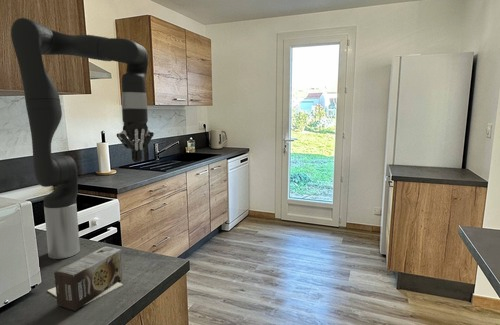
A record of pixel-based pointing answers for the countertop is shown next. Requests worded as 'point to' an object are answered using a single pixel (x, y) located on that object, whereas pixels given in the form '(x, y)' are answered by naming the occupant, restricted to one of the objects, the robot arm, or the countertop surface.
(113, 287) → the mat
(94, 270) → the coffee box
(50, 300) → the countertop surface
